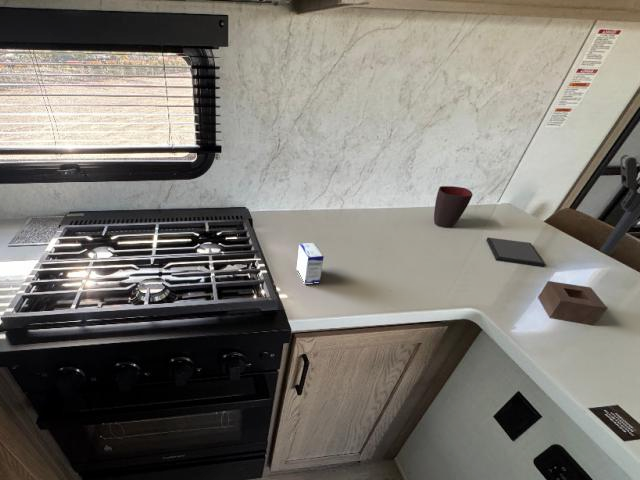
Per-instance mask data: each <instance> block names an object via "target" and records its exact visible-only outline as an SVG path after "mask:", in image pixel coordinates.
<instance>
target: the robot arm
mask: <svg viewBox="0 0 640 480" xmlns="http://www.w3.org/2000/svg"><path fill="white" fill-rule="evenodd" d="M639 166H640V152H638V153H635V154H631V155H628V154H623V155H622V156H621V157H620V184H621V185H622V186H624V187H626V188H627V189H629V191H628V192H627V194H626V196H625V197H624V198H623V200H622V201H621V202H620V206H621V209H622V211H624V212H626V211H627V212H631V211H633V209H634V208H635V206H636V205H637V203H638V202H639V201H640V171H639V172H638V173H637V167H639Z"/></svg>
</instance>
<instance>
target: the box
mask: <svg viewBox="0 0 640 480" xmlns="http://www.w3.org/2000/svg"><path fill="white" fill-rule="evenodd" d="M298 245H299V246H298V254H297V255H298V256H297V262H296V271H297V270H298V271H299V273H300V275H301V277H302V279H303V281H304V282H303V281H302V282H303V285H304V286H307V285H308V286H309V285H312V284H307V285H305V284H304V283H314V282H320V283H321V276H322V270H323V264H324V257H325V256H324V255H323V253H322V252H321V250H320V249H319V247H318V246H317V244H316V243H315V242H305V243H304V242H303V243H299V244H298ZM299 273H298V274H299ZM300 275H299V276H300ZM301 277H300V278H301ZM302 279H301V280H302ZM318 284H319V283H315V284H314V285H318Z"/></svg>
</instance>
